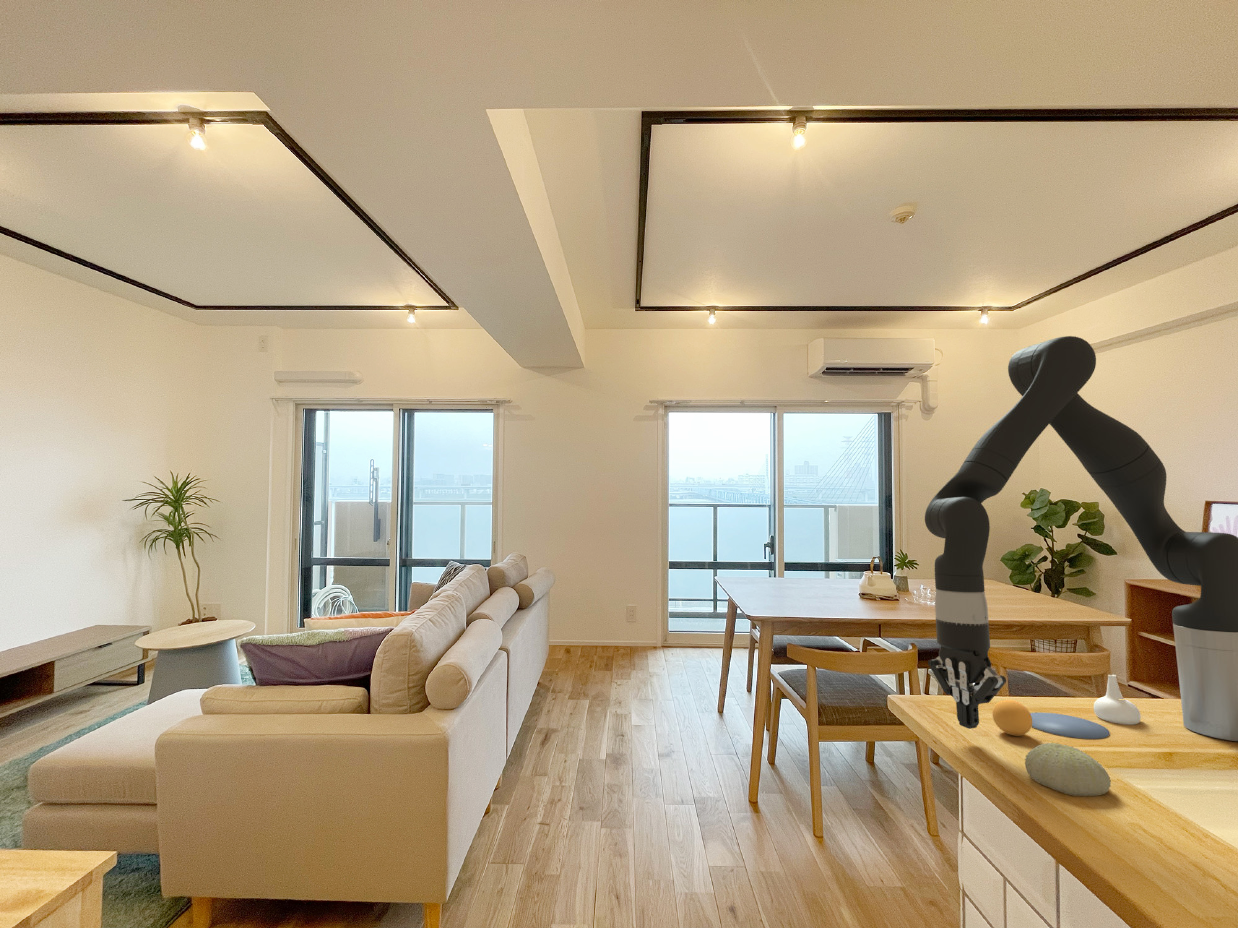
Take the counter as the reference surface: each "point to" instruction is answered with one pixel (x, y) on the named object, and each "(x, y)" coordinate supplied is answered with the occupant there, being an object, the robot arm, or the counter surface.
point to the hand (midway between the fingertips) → (968, 726)
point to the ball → (1012, 717)
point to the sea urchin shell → (1067, 770)
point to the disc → (1068, 726)
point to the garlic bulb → (1116, 706)
